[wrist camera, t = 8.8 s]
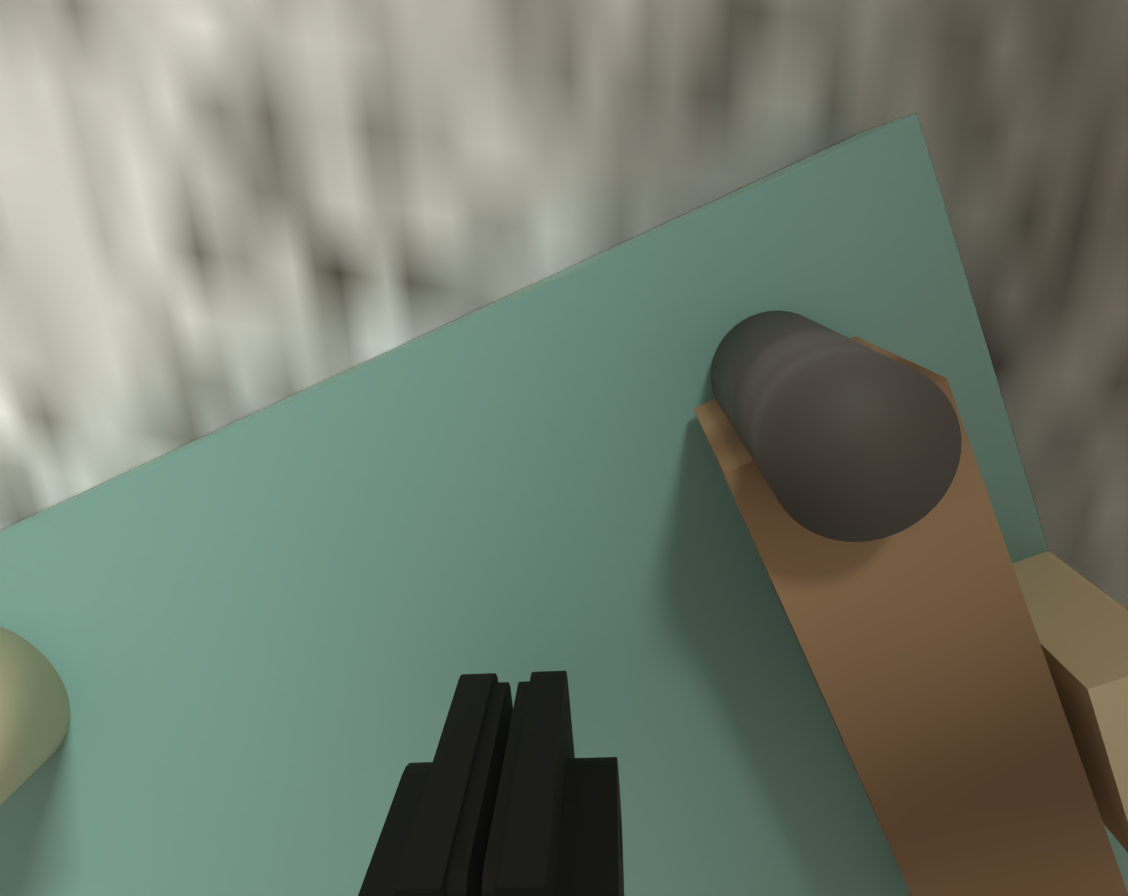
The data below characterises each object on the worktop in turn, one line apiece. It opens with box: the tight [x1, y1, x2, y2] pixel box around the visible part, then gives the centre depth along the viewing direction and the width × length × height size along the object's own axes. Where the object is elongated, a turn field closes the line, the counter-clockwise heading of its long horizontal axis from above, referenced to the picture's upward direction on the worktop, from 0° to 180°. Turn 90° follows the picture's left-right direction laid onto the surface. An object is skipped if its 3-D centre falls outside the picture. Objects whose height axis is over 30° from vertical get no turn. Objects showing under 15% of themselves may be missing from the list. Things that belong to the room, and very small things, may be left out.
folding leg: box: [693, 311, 1128, 896], centre depth 10 cm, size 11×2×4 cm, turn 26°
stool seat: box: [0, 113, 1128, 896], centre depth 13 cm, size 21×17×6 cm
